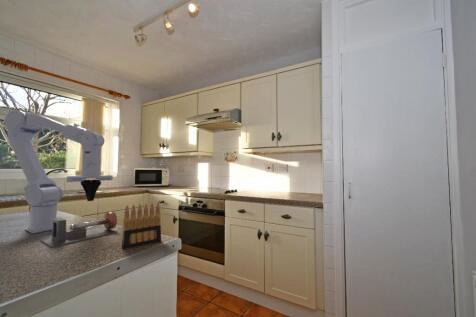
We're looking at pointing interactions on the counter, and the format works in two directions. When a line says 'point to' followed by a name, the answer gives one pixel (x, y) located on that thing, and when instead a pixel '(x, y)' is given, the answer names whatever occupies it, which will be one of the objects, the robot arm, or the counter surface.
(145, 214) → the ammunition clip
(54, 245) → the eye bracket
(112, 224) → the hammer
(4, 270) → the counter surface
